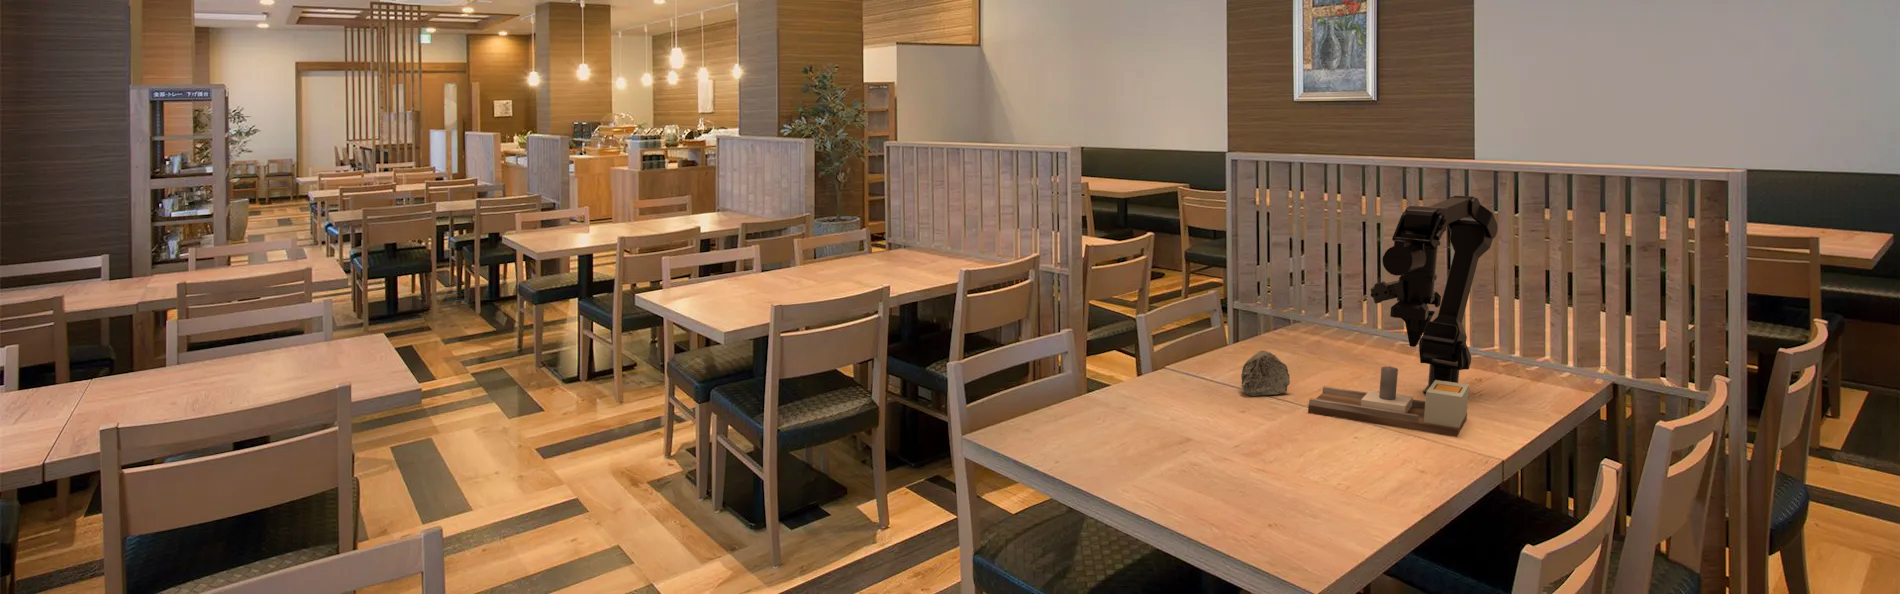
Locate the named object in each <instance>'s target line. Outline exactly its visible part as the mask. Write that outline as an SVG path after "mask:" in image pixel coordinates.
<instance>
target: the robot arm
mask: <svg viewBox="0 0 1900 594" xmlns="http://www.w3.org/2000/svg"><path fill="white" fill-rule="evenodd" d="M1447 229H1448V231H1449V234H1450V235H1449V241H1450V244H1451V247H1452V249H1453V257H1452V261H1451V263H1450V264H1451V265H1450V269H1449V272H1448V275H1447V280H1446V283H1445V287H1444V291H1443V293H1442V296H1441V295H1440V294H1439V293H1438V292H1437V291H1434V289H1435V281H1436V280H1437V278H1438V275H1437V274H1436V268H1437V258H1438V257H1437V256H1438V247H1439V246H1441V238H1442V237H1443V235H1444V233H1445V232H1446V231H1447ZM1498 230H1499V229H1498V223H1497V220H1496V218H1495V215H1494V213H1493V212H1492V211H1490V210H1489V209H1488V208H1486V207H1485V206H1483V204H1481V203H1480V199H1479V198H1478V197H1475V196H1472V195H1471V196H1470V195H1469V196H1468V195H1453V196H1450V197H1449V198H1448V199H1445V200H1442V201H1440V202H1437V203H1435V204H1433V205H1428V206H1427V205H1426V206H1425V205H1409V206H1407V207H1406V208H1405V209H1404V211H1403V212H1402V214H1401V216H1400V218H1399V220H1398V223H1397V225H1396V227H1395V230H1394V234H1393V236H1392V241H1393V246H1391V247H1389V248H1388V249H1386V251H1385V252H1384V254H1383V255H1382V258H1381V259H1382V266H1383V268H1384V270H1385V271H1386V272H1387V273H1388V274H1390V275H1393V276H1395V277H1397V276H1399V277H1398V280H1393V281H1389V282H1385V281H1382V282H1376V283H1375V284H1374V286H1373V287H1371V288H1370V297H1371V298H1373V299H1372V300H1373V302H1374V304H1380V303H1382V302H1385V301H1389V300H1393V299H1396V301H1397V302H1396V303H1394V304H1393V305H1392V306H1390V317H1391V318H1396V319H1401V320H1402V321H1403V322H1404V324H1405V328H1406V333H1407V339H1408V344H1409V345H1408V346H1410V347H1411V348H1416V347H1417V345H1418V350H1419V362H1420V364H1427V365H1429V371H1428V380H1427V381H1428V383H1427V386H1425V388H1424V390H1423V394H1425V395H1426V392H1427V390H1428V389H1429V388H1430V386H1431V385H1432V384H1433V382H1434V381H1435V380H1440V381H1447V382H1454V383H1459V378H1460V371H1462V370H1470V366H1471V363H1472V354H1471V351H1470V350H1469V347H1468V345H1467V338H1468V337H1467V333H1466V331H1465V328H1464V326H1463V319H1464V315H1465V312H1466V309H1467V304H1468V301H1469V296H1470V293H1471V288H1472V284H1473V281H1474V277H1475V275H1476V270H1477V265H1478V261H1479V259H1480V258H1481V257H1482V256H1483V255H1484V254H1485V253H1486V252H1488V250H1490V248H1491V246H1492V243H1493V240H1494V239H1495V238H1496V237H1497V235H1498V234H1497V233H1498ZM1429 305H1433V306H1434V307H1435V308H1439V309H1438V313H1437V316H1436V317H1435V318H1434V319H1433V316H1434V315H1435V311H1434V310H1430V308H1429ZM1432 319H1433V320H1432ZM1431 320H1432V321H1431Z"/></svg>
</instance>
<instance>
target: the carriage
mask: <svg viewBox="0 0 1900 594" xmlns="http://www.w3.org/2000/svg"><path fill="white" fill-rule="evenodd" d="M1398 374H1399V369H1398V368H1397V367H1393V366H1381V370H1380V379H1379V380H1380V381H1379V390H1372V389H1369V391H1368V392H1367V394H1366V395H1365V396H1364V397H1363V398H1362V399H1361V406H1364V407H1371V408H1377V409H1384V410H1390V411H1396V412H1403V413H1407V412H1408V411H1409V410H1410V408H1411V407H1412V403H1413V399H1414V396H1413V395H1407V394H1399V393H1397V387H1398V386H1397V385H1398Z"/></svg>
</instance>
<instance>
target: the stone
mask: <svg viewBox="0 0 1900 594" xmlns="http://www.w3.org/2000/svg"><path fill="white" fill-rule="evenodd" d="M1240 376H1241V385H1240V386H1241V388H1242V389H1243V391H1244V392H1245V393H1246V394H1247V395H1248V396H1251V397H1257V396H1269V395H1280V394H1282V393H1286V392H1287V391H1288V386H1289V385H1290V383H1291V380H1290V373H1289V369H1288V367H1287V365H1286V364H1285V363H1284V362H1282V361H1281V359H1280V358H1279V357H1277V356H1276V355H1275V354H1272V353H1271V352H1269V351H1267V350H1259V351H1258V352H1257V351H1256V353H1255V354H1253V355H1252V356H1251V357H1250V358H1249V359H1247V360H1246V362H1245V363H1244V365H1243V367H1242V371H1241V375H1240Z"/></svg>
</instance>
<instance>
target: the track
mask: <svg viewBox="0 0 1900 594" xmlns="http://www.w3.org/2000/svg"><path fill="white" fill-rule="evenodd" d="M1367 393H1368V392H1366V391H1358V390H1351V389H1346V388H1339V387H1338V388H1337V387H1334V386H1333V387H1332V386H1325V385H1324V386H1323V387H1322V392H1321V393H1320V395H1318V396H1317V397H1316V398H1313V397H1310V398H1309V399H1308V400H1309V401H1308V405H1307V406H1308V407H1307V409H1308V410H1307V413H1308V414H1315V415H1321V416H1327V417H1333V418H1340V419H1344V420H1351V421H1356V422H1363V423H1370V424H1375V425H1382V426H1388V427H1394V428H1399V429H1400V428H1401V429H1406V430H1412V431H1418V432H1424V433H1430V434H1436V435H1442V436H1449V437H1453V438H1458V436H1459V435H1460V433H1461V431H1462V429H1463V428H1464V426H1465V425H1466V422H1467V419H1468V413H1467V414H1466V416H1465V418H1464V420H1463V421H1462V423H1461V425H1460V427H1459V428H1456V427H1450V426H1443V425H1437V424H1431V423H1425V422H1424V412H1425V400H1421V399H1420V400H1419V399H1414V398H1413V403H1412V407H1411V408H1410V410H1409V411H1408V412H1407V413H1403V412H1396V411H1390V410H1384V409H1377V408H1371V407H1364V406H1361V399H1362V398H1363V397H1364V396H1365V395H1366V394H1367Z"/></svg>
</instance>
